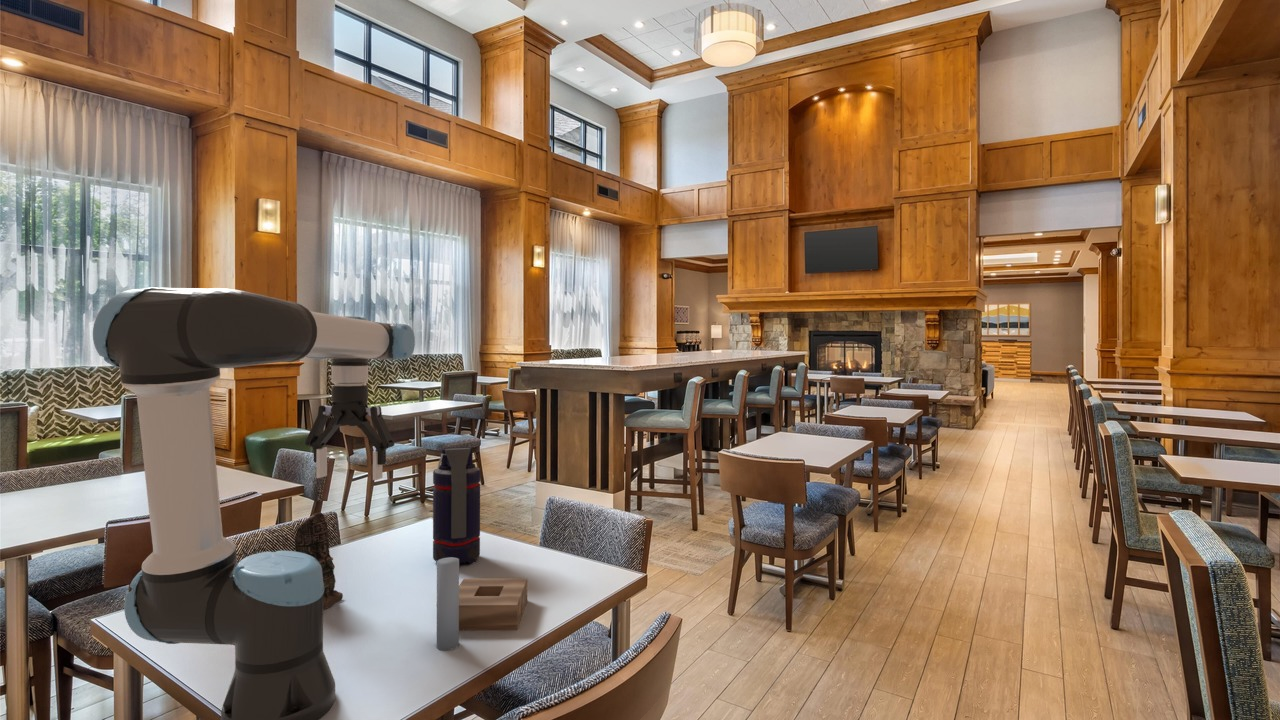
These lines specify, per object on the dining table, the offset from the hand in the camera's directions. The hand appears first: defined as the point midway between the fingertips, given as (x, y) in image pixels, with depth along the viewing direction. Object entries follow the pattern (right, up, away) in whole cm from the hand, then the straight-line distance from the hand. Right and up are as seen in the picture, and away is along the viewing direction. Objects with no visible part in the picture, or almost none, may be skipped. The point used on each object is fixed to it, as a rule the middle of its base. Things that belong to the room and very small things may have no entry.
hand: (349, 478), depth 138 cm
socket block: (+34, -27, -10) cm, 45 cm away
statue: (-4, -27, -6) cm, 27 cm away
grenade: (+18, -26, +21) cm, 38 cm away
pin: (+30, -27, -23) cm, 47 cm away
